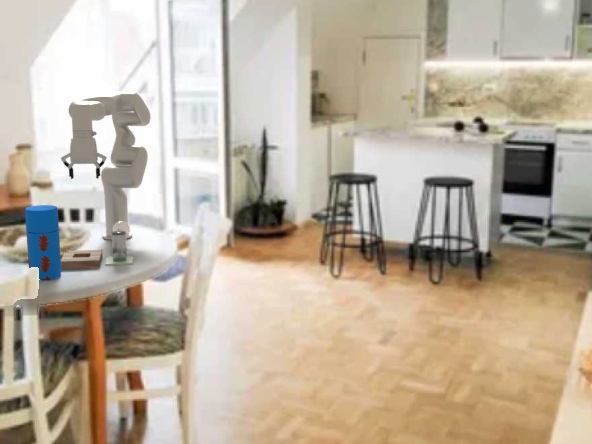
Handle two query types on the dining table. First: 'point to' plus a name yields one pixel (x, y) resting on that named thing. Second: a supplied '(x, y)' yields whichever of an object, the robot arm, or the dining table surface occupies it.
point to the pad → (111, 262)
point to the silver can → (119, 246)
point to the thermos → (43, 240)
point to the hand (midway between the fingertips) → (84, 178)
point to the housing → (81, 259)
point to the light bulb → (122, 227)
